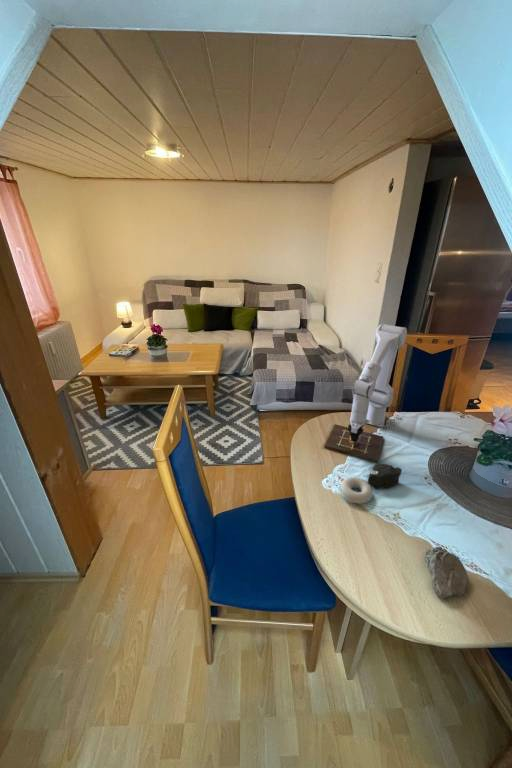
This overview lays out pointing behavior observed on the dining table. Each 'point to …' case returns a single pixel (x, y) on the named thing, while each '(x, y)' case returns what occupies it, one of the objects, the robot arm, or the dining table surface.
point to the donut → (356, 496)
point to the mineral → (384, 476)
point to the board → (363, 449)
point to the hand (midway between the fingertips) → (355, 437)
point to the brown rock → (446, 572)
